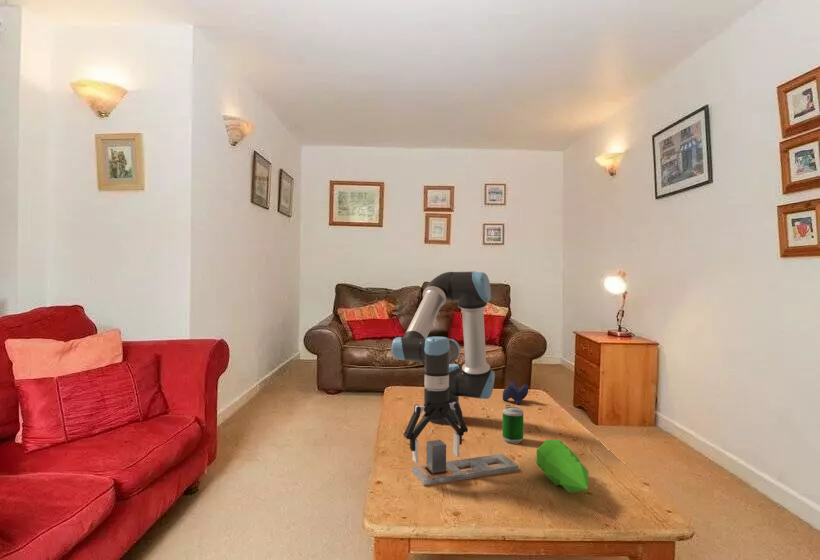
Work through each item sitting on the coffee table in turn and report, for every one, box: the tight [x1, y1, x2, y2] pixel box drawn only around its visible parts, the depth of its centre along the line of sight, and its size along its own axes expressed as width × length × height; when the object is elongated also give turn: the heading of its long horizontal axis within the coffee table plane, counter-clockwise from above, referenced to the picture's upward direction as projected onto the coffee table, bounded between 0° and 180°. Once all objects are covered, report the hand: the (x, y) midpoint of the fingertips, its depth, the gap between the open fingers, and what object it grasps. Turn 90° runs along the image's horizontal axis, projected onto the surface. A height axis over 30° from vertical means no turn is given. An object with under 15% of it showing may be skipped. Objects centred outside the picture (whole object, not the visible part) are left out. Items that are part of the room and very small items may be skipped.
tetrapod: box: [502, 380, 530, 406], centre depth 217 cm, size 11×12×11 cm
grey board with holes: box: [411, 453, 520, 486], centre depth 138 cm, size 10×32×2 cm, turn 110°
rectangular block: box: [426, 439, 447, 475], centre depth 134 cm, size 4×4×10 cm
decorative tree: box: [536, 439, 590, 493], centre depth 128 cm, size 11×12×30 cm
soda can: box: [502, 406, 524, 445], centre depth 164 cm, size 8×8×12 cm
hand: (436, 458), depth 134 cm, fingers open, 13 cm apart
